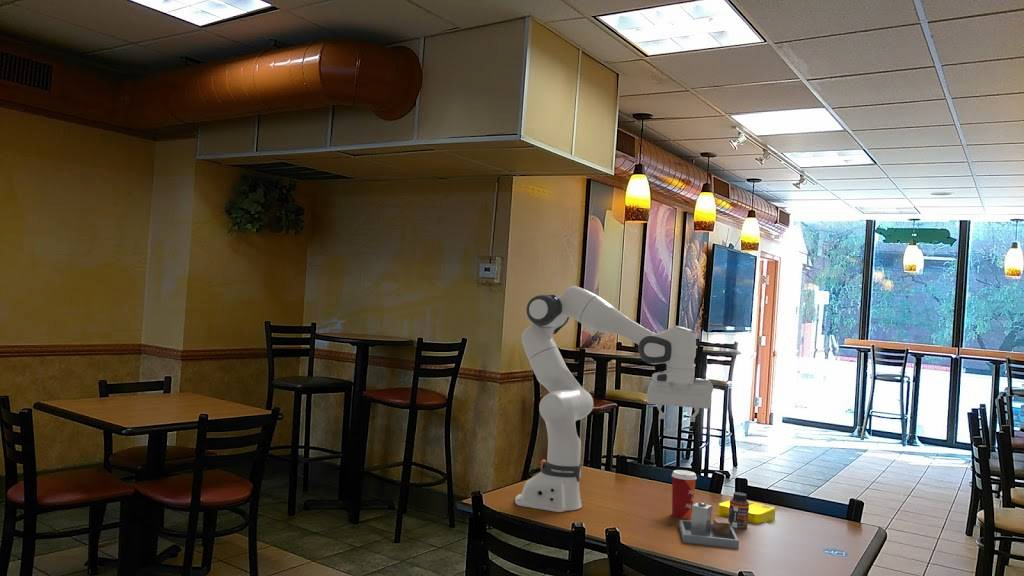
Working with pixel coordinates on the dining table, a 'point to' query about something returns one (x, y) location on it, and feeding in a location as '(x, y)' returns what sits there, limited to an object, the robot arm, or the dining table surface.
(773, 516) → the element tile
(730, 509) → the supplement bottle
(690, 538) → the tray
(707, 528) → the steel part
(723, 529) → the walnut block
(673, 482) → the coffee cup
